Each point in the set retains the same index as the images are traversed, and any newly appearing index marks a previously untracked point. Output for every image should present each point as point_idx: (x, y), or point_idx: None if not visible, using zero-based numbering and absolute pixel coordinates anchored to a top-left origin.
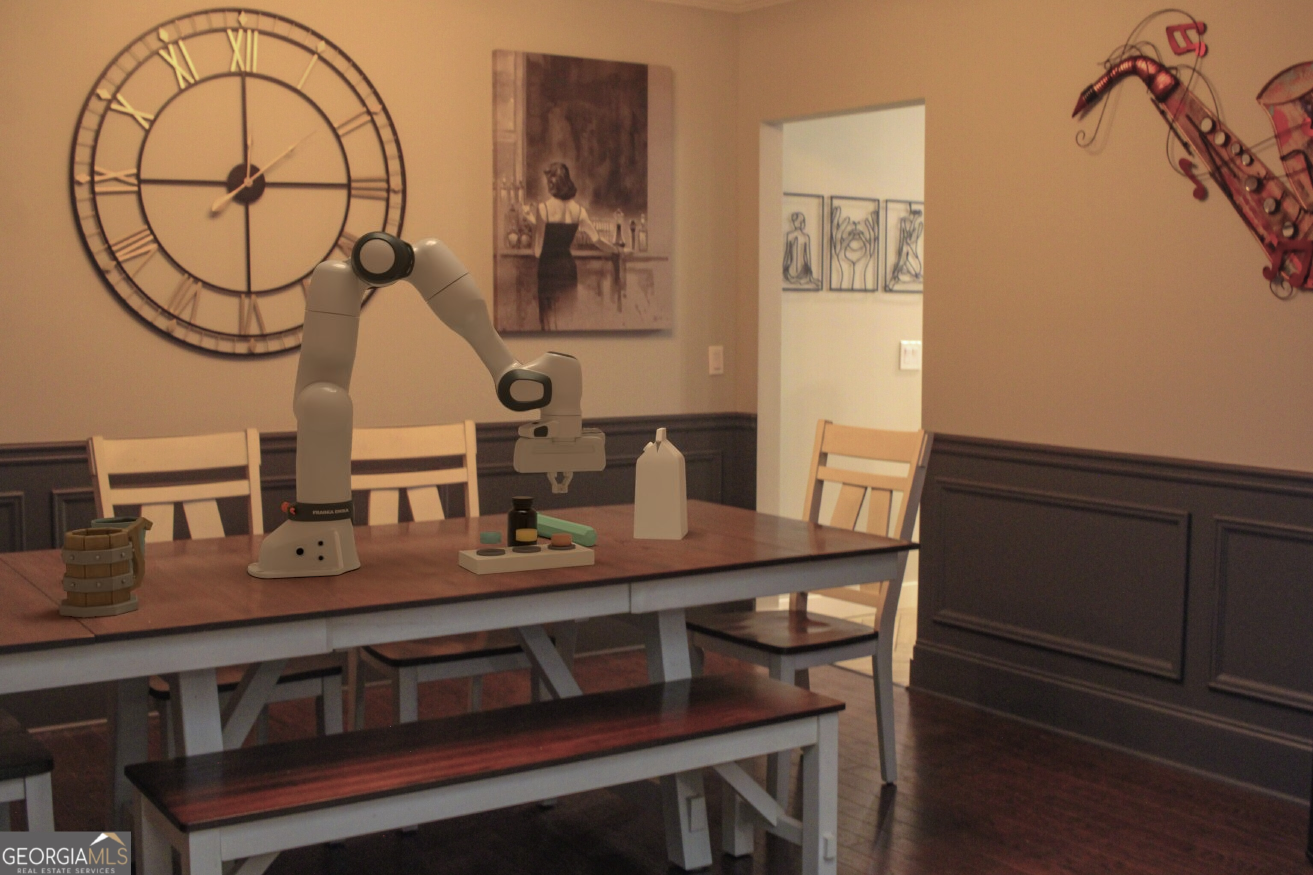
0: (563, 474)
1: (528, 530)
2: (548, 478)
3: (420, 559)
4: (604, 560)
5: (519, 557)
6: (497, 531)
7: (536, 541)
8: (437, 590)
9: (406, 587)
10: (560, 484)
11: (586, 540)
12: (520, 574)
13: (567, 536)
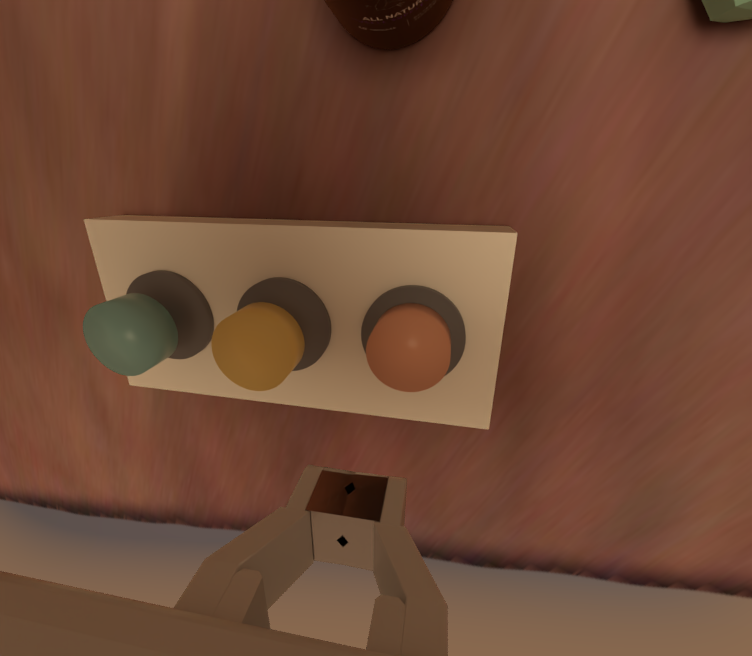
0: (372, 616)
1: (255, 364)
2: (228, 545)
3: (10, 42)
4: (556, 363)
5: (241, 398)
6: (143, 324)
7: (442, 4)
8: (77, 457)
9: (22, 406)
10: (348, 541)
11: (730, 19)
12: (253, 412)
13: (414, 391)
